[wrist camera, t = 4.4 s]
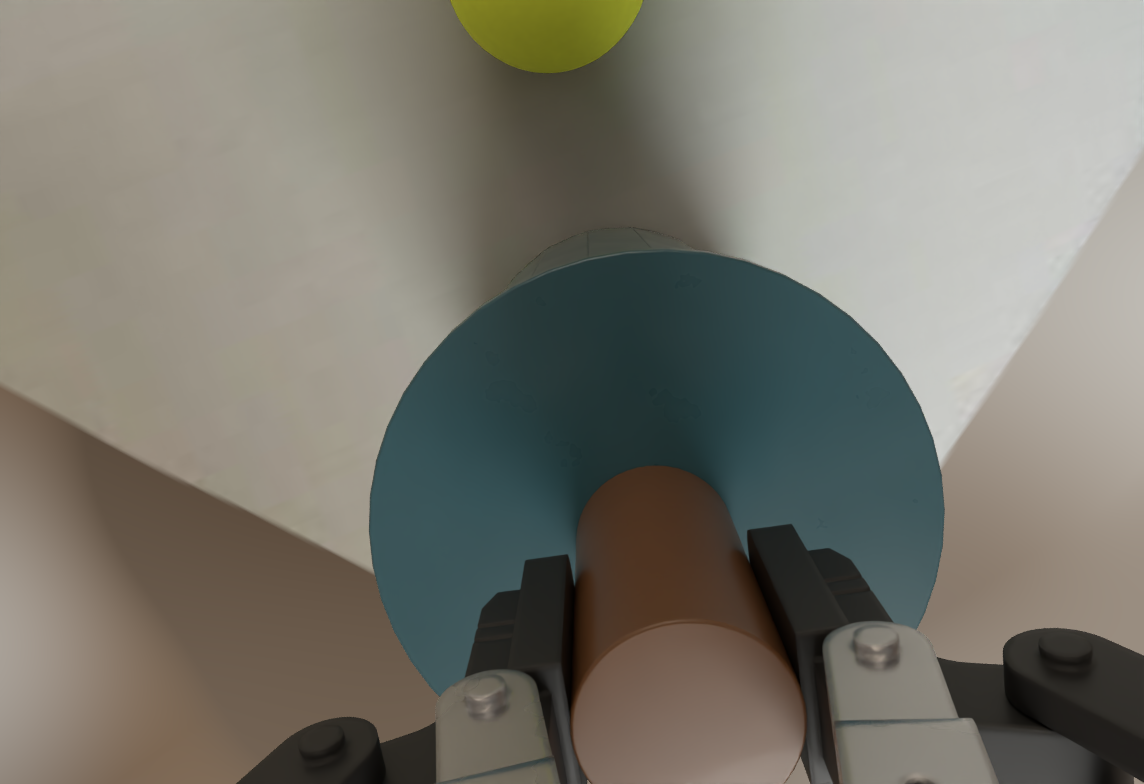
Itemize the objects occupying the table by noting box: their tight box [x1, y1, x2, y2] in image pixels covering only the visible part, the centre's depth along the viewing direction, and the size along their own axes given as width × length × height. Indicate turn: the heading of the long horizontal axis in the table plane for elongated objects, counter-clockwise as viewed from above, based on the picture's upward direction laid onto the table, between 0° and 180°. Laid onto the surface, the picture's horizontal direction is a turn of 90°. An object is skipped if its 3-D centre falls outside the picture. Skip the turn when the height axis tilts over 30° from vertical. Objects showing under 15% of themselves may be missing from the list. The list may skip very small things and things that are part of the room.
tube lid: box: [369, 247, 945, 784], centre depth 15 cm, size 11×11×7 cm
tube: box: [506, 227, 694, 289], centre depth 27 cm, size 10×10×15 cm
